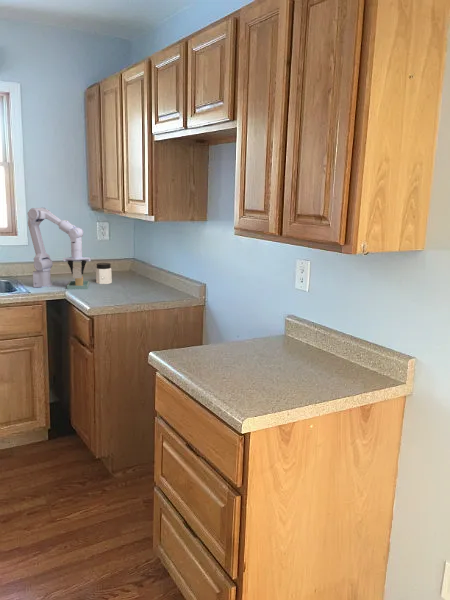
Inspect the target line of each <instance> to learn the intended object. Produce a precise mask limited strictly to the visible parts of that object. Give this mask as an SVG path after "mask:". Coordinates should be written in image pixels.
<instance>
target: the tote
mask: <svg viewBox="0 0 450 600" xmlns="http://www.w3.org/2000/svg"><path fill="white" fill-rule="evenodd" d="M90 284H91V282H90V280H83V286H75V280H69V281H68V284H67V285H66V289H67V290H88V289H89V286H90Z"/></svg>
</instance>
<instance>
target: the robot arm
mask: <svg viewBox="0 0 450 600" xmlns="http://www.w3.org/2000/svg"><path fill="white" fill-rule="evenodd" d="M45 220H48V221H50V222H51V223H53V224H54V225H57V226H58V228H59V230H61V231H62V232H64V233H65V234H67V235H68V237H69V239H70V249H71V250H70V251H71V256H70V257H69V256H68V257H62V260H63V262H67V265H68V267H69V269H70V271H71V275H73V267H74V262H80V263H81V267H82V275H84V271H85V267H86V263H87V262H91V257H86V256H85V257H84V256H83V243H82V242H83V239H82V238H83V237H84V230H83V229H82V227H80V226H79V227H77V226H76V225H75V224H72V223H70V221H69V220H65V219H63V220H62V219H61V218H59V216H56V215H55V214H53V212H51V211H50V210H49V209H46V208H45V207H32V208H30V209H29V210H28V212H27V227H28V230H29V234H30V238H31V240H32V244H33V245H32V246H33V248H34V253H35V256H33V257H34V258H33V267H34V269H35V270H33V272H32V281H33V282H32V283H33V288H43V287H52V285H53V283H52V277H51V275H52V274H51V270H52V267H53V265H54V263H53V261H52V259H51V257H50V255H49V254H48V253H47V252H46V248H45V245H44V240H43V237H42V233H41V228H40V225H41V224H42V222H43V221H45Z"/></svg>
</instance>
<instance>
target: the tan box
mask: <svg viewBox="0 0 450 600" xmlns="http://www.w3.org/2000/svg"><path fill="white" fill-rule="evenodd" d="M74 281H75V286H83V281H84V275H82V278H74Z"/></svg>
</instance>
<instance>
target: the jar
mask: <svg viewBox="0 0 450 600" xmlns="http://www.w3.org/2000/svg"><path fill="white" fill-rule="evenodd" d="M111 265H112V264H111V263H110V262H98V263H96V267H95V279H96V284H99V285H109V284H112V282H113V279H112V276H113V275H112V274H113V273H112V267H111Z"/></svg>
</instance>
